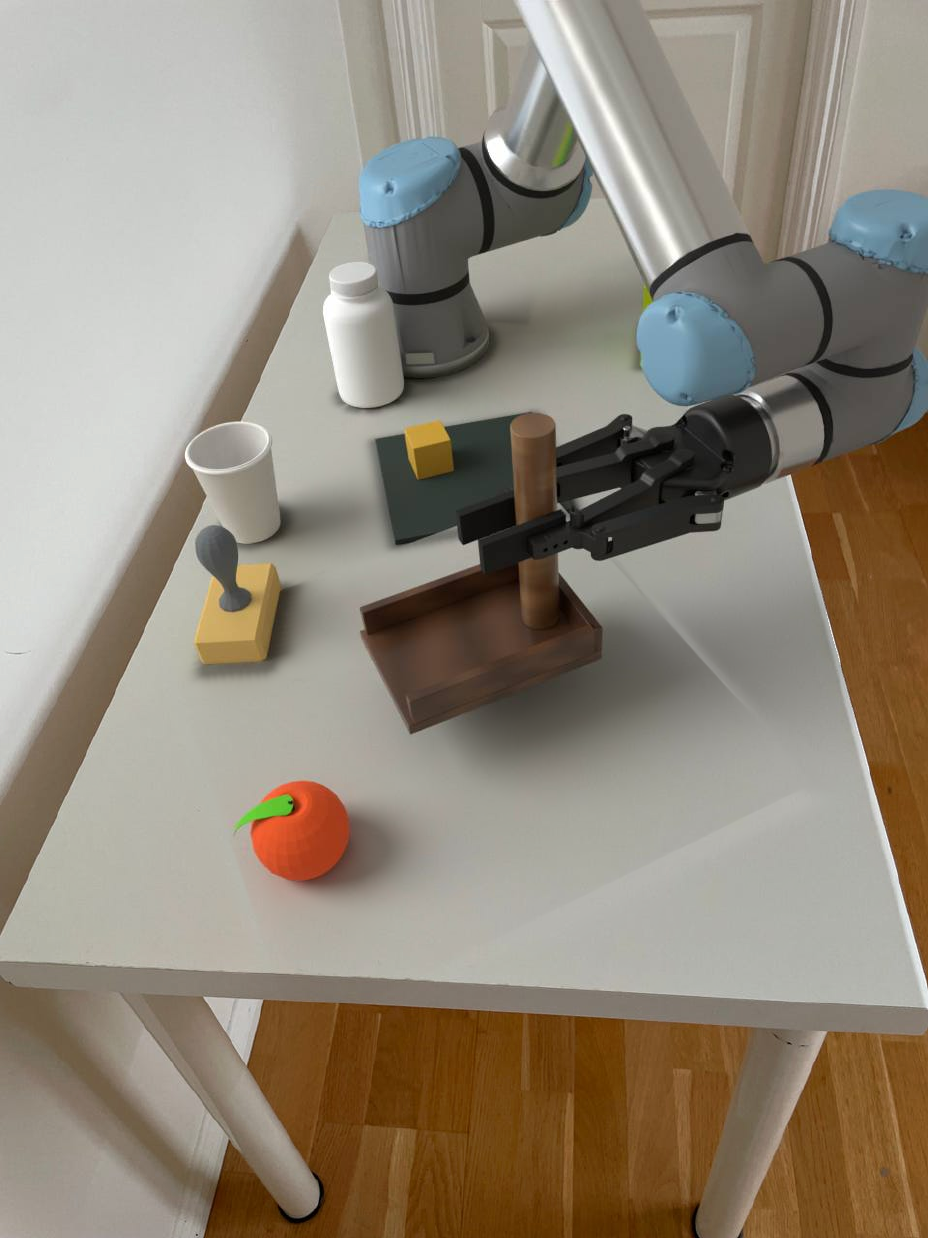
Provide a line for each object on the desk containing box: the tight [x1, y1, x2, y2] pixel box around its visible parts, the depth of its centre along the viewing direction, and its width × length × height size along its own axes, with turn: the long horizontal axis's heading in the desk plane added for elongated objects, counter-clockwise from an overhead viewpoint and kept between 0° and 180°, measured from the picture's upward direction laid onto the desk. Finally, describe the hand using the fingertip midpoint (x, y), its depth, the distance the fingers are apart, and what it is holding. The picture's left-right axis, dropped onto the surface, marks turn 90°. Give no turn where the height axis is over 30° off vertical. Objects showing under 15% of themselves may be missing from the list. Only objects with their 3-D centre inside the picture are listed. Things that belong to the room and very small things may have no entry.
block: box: [403, 419, 454, 480], centre depth 99 cm, size 4×4×4 cm
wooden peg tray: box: [359, 412, 603, 735], centre depth 68 cm, size 16×11×19 cm
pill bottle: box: [322, 261, 405, 409], centre depth 108 cm, size 8×8×15 cm
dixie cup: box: [184, 421, 282, 545], centre depth 93 cm, size 8×8×10 cm
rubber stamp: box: [193, 524, 283, 665], centre depth 82 cm, size 10×6×12 cm, turn 0°
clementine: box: [233, 780, 350, 882], centre depth 66 cm, size 8×7×7 cm
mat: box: [374, 411, 573, 545], centre depth 99 cm, size 18×18×1 cm
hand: (470, 542), depth 66 cm, fingers closed on wooden peg tray, 3 cm apart
